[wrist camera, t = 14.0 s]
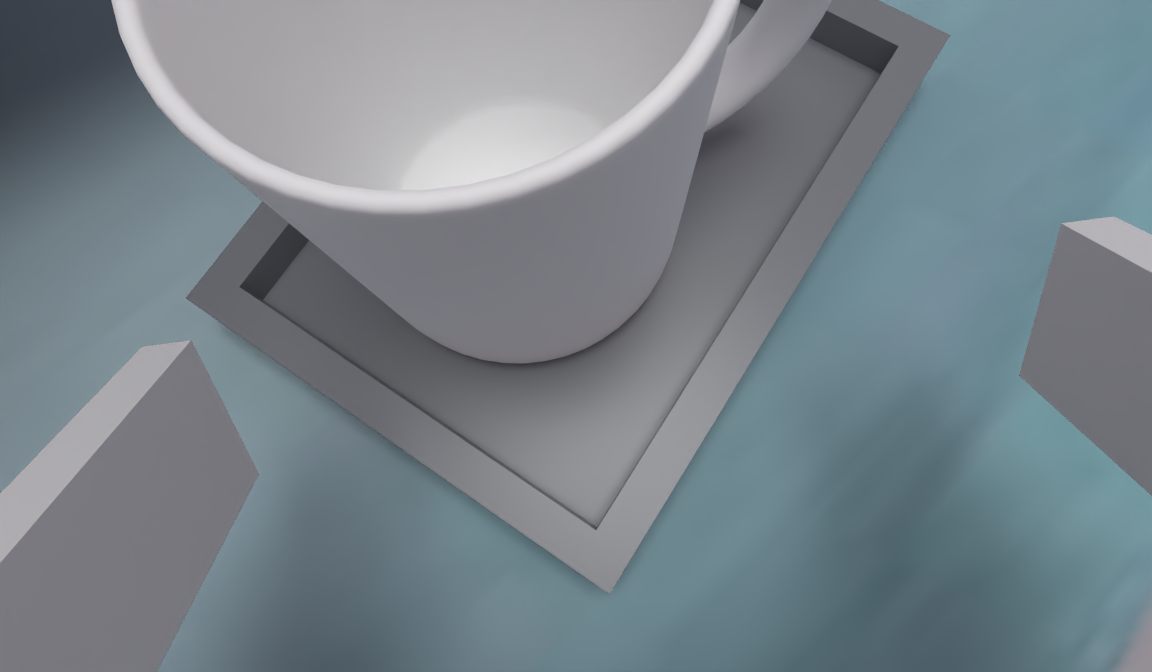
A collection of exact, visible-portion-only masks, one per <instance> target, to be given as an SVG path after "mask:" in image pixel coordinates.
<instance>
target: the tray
mask: <svg viewBox="0 0 1152 672" xmlns="http://www.w3.org/2000/svg"><path fill="white" fill-rule="evenodd" d="M763 1H764V0H740V4H739V7H738V11H737V15H736V18H735V22H734V25H733V29H732V33H731V36H730V40H729V44H730V43H731V42H732V41H733V40H734V39H735V38H736V37H737V36H738V35H739V34H740V33H741V32H742V30H743V29H744V28H745V27H746V25H747V24H748V23H749V21H750V20H751V19H752V18H753V16H754V15H755V13H756V12H757V10H758V9H759V7H760V6H761V4H762V2H763ZM949 36H950V35H948V34H946V33H944V32H942V31H940V30H938V29H936V28H934V27H932V26H930V25H928V24H926V23H924V22H922V21H920V20H918V19H916V18H913V17H911V16H909V15H907V14H905V13H903V12H901V11H899V10H897V9H895V8H893V7H891V6H889V5H887V4H885V3H883V2H881V1H879V0H832V1H831V3H830V5H829V7H828V8H827V10H826V12H825V14H824V16H823V18H822V19H821V21H820V22H819V24H818V25H817V27H816V28H815V30H814V31H813V33H812V35H811V36H810V37H809V39H808V40H807V41H806V43H805V44H804V45H803V47H802V48H801V49H800V51H799V52H798V53H797V55H796V56H795V57H794V58H793V59H792V60H791V61H790V63H789V64H788V65H787V66H786V67H785V68H784V69H783V70H782V72H781V73H780V74H779V75H778V76H777V77H776V78H775V79H774V80H773V81H772V82H771V83H770V84H769V85H768V86H767V87H766V88H765V89H763V90H762V91H761V92H760V93H759V94H758V95H756V96H755V97H754V98H753V99H752V100H751V101H750V102H748V103H747V104H746V105H744V106H743V107H742V108H741V109H739V110H738V111H737V112H735V113H734V114H733V115H731V116H730V117H728V118H727V119H725V120H724V121H722V122H721V123H719V124H718V125H716V126H715V127H713V128H711V129H710V130H708V131H706V132H705V133H704V135H703V139H702V142H701V146H700V150H699V153H698V157H697V161H696V164H695V168H694V172H693V175H692V179H691V183H690V186H689V190H688V193H687V197H686V201H685V204H684V208H683V212H682V215H681V219H680V223H679V226H678V230H677V234H676V237H675V241H674V244H673V248H672V251H671V254H670V256H669V259H668V261H667V263H666V266H665V268H664V270H663V272H662V275H661V277H660V279H659V280H658V282H657V283H656V285H655V287H654V288H653V290H652V292H651V293H650V295H649V296H648V298H647V299H646V300H645V301H644V303H643V304H642V305H641V306H640V307H639V309H638V310H637V311H636V312H635V313H634V314H633V315H632V316H631V317H630V318H629V319H628V320H627V321H626V322H625V323H624V324H622V325H621V326H620V327H619V328H618V329H616V330H615V331H614V332H612V333H611V334H609V335H608V336H607V337H605V338H604V339H602V340H601V341H599V342H597V343H595V344H593V345H591V346H590V347H588V348H586V349H584V350H581V351H579V352H576V353H573V354H571V355H568V356H565V357H561V358H557V359H553V360H549V361H544V362H535V363H526V364H521V363H500V362H493V361H486V360H481V359H477V358H474V357H470V356H467V355H463V354H461V353H458V352H456V351H454V350H452V349H449V348H447V347H445V346H443V345H441V344H439V343H437V342H436V341H434V340H432V339H431V338H429V337H427V336H426V335H424V334H422V333H421V332H419V331H418V330H417V329H415V328H414V327H413V326H412V325H411V324H409V323H408V322H407V321H406V320H404V319H403V318H402V317H401V316H400V315H398V314H397V313H396V312H395V311H394V310H392V309H391V308H390V307H389V306H388V305H386V304H385V303H384V302H383V301H382V300H380V299H379V298H378V297H377V296H376V295H374V294H373V293H372V292H371V291H370V290H368V289H367V288H366V287H365V286H364V285H362V284H361V283H360V282H359V281H358V280H356V279H355V278H354V277H353V276H352V275H350V274H349V273H348V272H347V271H346V270H344V269H343V268H342V267H341V266H340V265H338V264H337V263H336V262H335V261H334V260H333V259H331V258H330V257H329V256H328V255H327V254H325V253H324V252H323V251H322V250H321V249H319V248H318V247H317V246H316V245H315V244H313V243H312V242H311V241H310V240H309V239H307V238H306V237H305V236H304V235H303V234H301V233H300V232H299V231H298V230H297V229H295V228H294V227H293V226H292V225H291V224H289V223H288V222H287V221H286V220H285V219H283V218H282V217H281V216H280V215H279V214H277V213H276V212H275V211H274V210H273V209H271V208H270V207H269V206H268V205H267V204H265V203H264V202H262V203H261V204H260V206H259V207H258V208H257V209H256V211H255V212H254V213H253V214H252V216H251V217H250V218H249V219H248V221H247V222H246V223H245V224H244V226H243V227H242V228H241V229H240V231H239V232H238V233H237V235H236V236H235V237H234V238H233V240H232V241H231V242H230V243H229V245H228V246H227V247H226V248H225V250H224V251H223V252H222V253H221V255H220V256H219V257H218V258H217V260H216V261H215V262H214V263H213V265H212V266H211V267H210V268H209V270H208V271H207V272H206V273H205V275H204V276H203V277H202V278H201V280H200V281H199V282H198V284H197V285H196V286H195V287H194V289H193V290H192V291H191V292H190V294H189V295H188V296H187V297H186V299H188V300H189V301H191V302H192V303H193V304H195V305H196V306H198V307H199V308H201V309H202V310H203V311H205V312H206V313H208V314H209V315H211V316H212V317H213V318H215V319H216V320H218V321H219V322H221V323H222V324H223V325H225V326H226V327H228V328H229V329H231V330H232V331H233V332H235V333H236V334H238V335H239V336H241V337H242V338H244V339H245V340H246V341H248V342H249V343H251V344H252V345H254V346H255V347H256V348H258V349H259V350H261V351H262V352H264V353H265V354H266V355H268V356H269V357H271V358H272V359H274V360H275V361H276V362H278V363H279V364H281V365H282V366H284V367H285V368H286V369H288V370H289V371H291V372H292V373H294V374H295V375H296V376H298V377H299V378H301V379H302V380H304V381H305V382H306V383H308V384H309V385H311V386H312V387H314V388H315V389H317V390H318V391H319V392H321V393H322V394H324V395H325V396H327V397H328V398H329V399H331V400H332V401H334V402H335V403H337V404H338V405H339V406H341V407H342V408H344V409H345V410H347V411H348V412H349V413H351V414H352V415H354V416H355V417H357V418H358V419H359V420H361V421H362V422H364V423H365V424H367V425H368V426H369V427H371V428H372V429H374V430H375V431H377V432H378V433H379V434H381V435H382V436H384V437H385V438H387V439H388V440H390V441H391V442H392V443H394V444H395V445H397V446H398V447H400V448H401V449H402V450H404V451H405V452H407V453H408V454H410V455H411V456H412V457H414V458H415V459H417V460H418V461H420V462H421V463H422V464H424V465H425V466H427V467H428V468H430V469H431V470H432V471H434V472H435V473H437V474H438V475H440V476H441V477H442V478H444V479H445V480H447V481H448V482H450V483H451V484H452V485H454V486H455V487H457V488H458V489H460V490H461V491H463V492H464V493H465V494H467V495H468V496H470V497H471V498H473V499H474V500H475V501H477V502H478V503H480V504H481V505H483V506H484V507H485V508H487V509H488V510H490V511H491V512H493V513H494V514H495V515H497V516H498V517H500V518H501V519H503V520H504V521H505V522H507V523H508V524H510V525H511V526H513V527H514V528H515V529H517V530H518V531H520V532H521V533H523V534H524V535H525V536H527V537H528V538H530V539H531V540H533V541H534V542H536V543H537V544H538V545H540V546H541V547H543V548H544V549H546V550H547V551H548V552H550V553H551V554H553V555H554V556H556V557H557V558H558V559H560V560H561V561H563V562H564V563H566V564H567V565H568V566H570V567H571V568H573V569H574V570H576V571H577V572H578V573H580V574H581V575H583V576H584V577H586V578H587V579H588V580H590V581H591V582H593V583H594V584H596V585H597V586H598V587H600V588H601V589H603V590H604V591H606V592H607V593H609V594H610V592H611V590H612V589H613V587H614V586H615V584H616V582H617V581H618V579H619V577H620V576H621V574H622V572H623V571H624V569H625V567H626V566H627V564H628V563H629V561H630V559H631V558H632V556H633V554H634V553H635V551H636V549H637V548H638V546H639V545H640V543H641V541H642V540H643V538H644V536H645V535H646V533H647V531H648V530H649V528H650V527H651V525H652V523H653V522H654V520H655V518H656V517H657V515H658V513H659V512H660V510H661V508H662V507H663V505H664V504H665V502H666V500H667V499H668V497H669V495H670V494H671V492H672V490H673V489H674V487H675V486H676V484H677V482H678V481H679V479H680V477H681V476H682V474H683V472H684V471H685V469H686V467H687V466H688V464H689V463H690V461H691V459H692V458H693V456H694V454H695V453H696V451H697V449H698V448H699V446H700V445H701V443H702V441H703V440H704V438H705V436H706V435H707V433H708V431H709V430H710V428H711V427H712V425H713V423H714V422H715V420H716V418H717V417H718V415H719V413H720V412H721V410H722V408H723V407H724V405H725V404H726V402H727V400H728V399H729V397H730V395H731V394H732V392H733V390H734V389H735V387H736V386H737V384H738V382H739V381H740V379H741V377H742V376H743V374H744V372H745V371H746V369H747V367H748V366H749V364H750V363H751V361H752V359H753V358H754V356H755V354H756V353H757V351H758V349H759V348H760V346H761V345H762V343H763V341H764V340H765V338H766V336H767V335H768V333H769V331H770V330H771V328H772V327H773V325H774V323H775V322H776V320H777V318H778V317H779V315H780V313H781V312H782V310H783V308H784V307H785V305H786V304H787V302H788V300H789V299H790V297H791V295H792V294H793V292H794V290H795V289H796V287H797V286H798V284H799V282H800V281H801V279H802V277H803V276H804V274H805V272H806V271H807V269H808V268H809V266H810V264H811V263H812V261H813V259H814V258H815V256H816V254H817V253H818V251H819V249H820V248H821V246H822V245H823V243H824V241H825V240H826V238H827V236H828V235H829V233H830V231H831V230H832V228H833V227H834V225H835V223H836V222H837V220H838V218H839V217H840V215H841V213H842V212H843V210H844V208H845V207H846V205H847V204H848V202H849V200H850V199H851V197H852V195H853V194H854V192H855V190H856V189H857V187H858V186H859V184H860V182H861V181H862V179H863V177H864V176H865V174H866V172H867V171H868V169H869V168H870V166H871V164H872V163H873V161H874V159H875V158H876V156H877V154H878V153H879V151H880V149H881V148H882V146H883V145H884V143H885V141H886V140H887V138H888V136H889V135H890V133H891V131H892V130H893V128H894V127H895V125H896V123H897V122H898V120H899V118H900V117H901V115H902V113H903V112H904V110H905V109H906V107H907V105H908V104H909V102H910V100H911V99H912V97H913V95H914V94H915V92H916V90H917V89H918V87H919V86H920V84H921V82H922V81H923V79H924V77H925V76H926V74H927V72H928V71H929V69H930V68H931V66H932V64H933V63H934V61H935V59H936V58H937V56H938V54H939V53H940V51H941V49H942V48H943V46H944V45H945V43H946V41H947V40H948V38H949ZM729 44H728V45H729Z"/></svg>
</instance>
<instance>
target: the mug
mask: <svg viewBox="0 0 1152 672" xmlns="http://www.w3.org/2000/svg"><path fill="white" fill-rule="evenodd" d="M111 1H112V5H113V9H114V13H115V17H116V21H117V25H118V29H119V33H120V36H121V39H122V41H123V43H124V46H125V48H126V50H127V52H128V55H129V57H130V59H131V62H132V64H133V66H134V69H135V71H136V73H137V75H138V77H139V78H140V80H141V81H142V83H143V84H144V86H145V88H146V89H147V91H148V92H149V94H150V95H151V97H152V98H153V100H154V102H155V103H156V105H157V106H158V107H159V108H160V110H161V111H162V112H163V113H164V114H165V115H166V116H167V117H168V118H169V120H170V121H171V122H172V123H173V124H174V125H175V126H176V127H177V129H178V130H179V131H180V132H181V133H182V134H183V135H184V136H185V137H186V138H188V139H189V140H190V141H191V142H192V143H194V144H195V145H196V146H197V147H198V148H200V149H201V150H202V151H203V152H204V153H206V154H207V155H208V156H209V157H210V158H212V159H213V160H214V161H215V162H216V163H218V164H219V165H220V166H221V167H222V168H224V169H225V170H226V171H227V172H228V173H229V174H231V175H232V176H233V177H234V178H235V179H237V180H238V181H239V182H240V183H241V184H243V185H244V186H245V187H246V188H247V189H249V190H250V191H251V192H252V193H253V194H255V195H256V196H257V197H258V198H259V199H261V200H262V201H263V202H264V203H265V204H267V205H268V206H269V207H270V208H271V209H273V210H274V211H275V212H276V213H277V214H279V215H280V216H281V217H282V218H283V219H285V220H286V221H287V222H288V223H289V224H291V225H292V226H293V227H294V228H295V229H297V230H298V231H299V232H300V233H301V234H303V235H304V236H305V237H306V238H307V239H309V240H310V241H311V242H312V243H313V244H315V245H316V246H317V247H318V248H319V249H321V250H322V251H323V252H324V253H325V254H327V255H328V256H329V257H330V258H331V259H333V260H334V261H335V262H336V263H337V264H338V265H340V266H341V267H342V268H343V269H344V270H346V271H347V272H348V273H349V274H350V275H352V276H353V277H354V278H355V279H356V280H358V281H359V282H360V283H361V284H362V285H364V286H365V287H366V288H367V289H368V290H370V291H371V292H372V293H373V294H374V295H376V296H377V297H378V298H379V299H380V300H382V301H383V302H384V303H385V304H386V305H388V306H389V307H390V308H391V309H392V310H394V311H395V312H396V313H397V314H398V315H400V316H401V317H402V318H403V319H404V320H406V321H407V322H408V323H409V324H411V325H412V326H413V327H414V328H415V329H417V330H418V331H419V332H421V333H422V334H424V335H426V336H427V337H429V338H431V339H432V340H434V341H436V342H437V343H439V344H441V345H443V346H445V347H447V348H449V349H452V350H454V351H456V352H458V353H461V354H463V355H467V356H470V357H474V358H477V359H481V360H486V361H493V362H500V363H521V364H526V363H535V362H544V361H549V360H553V359H557V358H561V357H565V356H568V355H571V354H573V353H576V352H579V351H581V350H584V349H586V348H588V347H590V346H591V345H593V344H595V343H597V342H599V341H601V340H602V339H604V338H605V337H607V336H608V335H609V334H611V333H612V332H614V331H615V330H616V329H618V328H619V327H620V326H621V325H622V324H624V323H625V322H626V321H627V320H628V319H629V318H630V317H631V316H632V315H633V314H634V313H635V312H636V311H637V310H638V309H639V307H640V306H641V305H642V304H643V303H644V301H645V300H646V299H647V298H648V296H649V295H650V293H651V292H652V290H653V288H654V287H655V285H656V283H657V282H658V280H659V279H660V277H661V275H662V272H663V270H664V268H665V266H666V263H667V261H668V259H669V256H670V254H671V251H672V248H673V244H674V241H675V237H676V234H677V230H678V226H679V223H680V219H681V215H682V212H683V208H684V204H685V201H686V197H687V193H688V190H689V186H690V183H691V179H692V175H693V172H694V168H695V164H696V161H697V157H698V153H699V150H700V146H701V142H702V139H703V135H704V133H705V132H706V131H708V130H710V129H711V128H713V127H715V126H716V125H718V124H719V123H721V122H722V121H724V120H725V119H727V118H728V117H730V116H731V115H733V114H734V113H735V112H737V111H738V110H739V109H741V108H742V107H743V106H744V105H746V104H747V103H748V102H750V101H751V100H752V99H753V98H754V97H755V96H756V95H758V94H759V93H760V92H761V91H762V90H763V89H765V88H766V87H767V86H768V85H769V84H770V83H771V82H772V81H773V80H774V79H775V78H776V77H777V76H778V75H779V74H780V73H781V72H782V70H783V69H784V68H785V67H786V66H787V65H788V64H789V63H790V61H791V60H792V59H793V58H794V57H795V56H796V55H797V53H798V52H799V51H800V49H801V48H802V47H803V45H804V44H805V43H806V41H807V40H808V39H809V37H810V36H811V35H812V33H813V31H814V30H815V28H816V27H817V25H818V24H819V22H820V21H821V19H822V18H823V16H824V14H825V12H826V10H827V8H828V7H829V5H830V3H831V1H832V0H764V1H763V2H762V4H761V6H760V7H759V9H758V10H757V12H756V13H755V15H754V16H753V18H752V19H751V20H750V21H749V23H748V24H747V25H746V27H745V28H744V29H743V30H742V32H741V33H740V34H739V35H738V36H737V37H736V38H735V39H734V40H733V41H732V42H731V43H730V44H729V40H730V36H731V33H732V29H733V25H734V22H735V18H736V15H737V11H738V7H739V4H740V0H111ZM728 44H729V45H728Z"/></svg>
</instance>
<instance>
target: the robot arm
mask: <svg viewBox="0 0 1152 672" xmlns="http://www.w3.org/2000/svg"><path fill="white" fill-rule="evenodd" d="M1019 376H1020V377H1021V378H1022V379H1023V380H1025V381H1026V382H1027V383H1028V384H1029V385H1030V386H1031V387H1032V388H1033V389H1034V390H1036V391H1037V392H1038V393H1039V394H1040V395H1041V396H1042V397H1043V398H1044V399H1045V400H1047V401H1048V402H1049V403H1050V404H1051V405H1052V406H1053V407H1054V408H1055V409H1056V410H1058V411H1059V412H1060V413H1061V414H1062V415H1063V416H1064V417H1065V418H1066V419H1068V420H1069V421H1070V422H1071V423H1072V424H1073V425H1074V426H1075V427H1076V428H1077V429H1079V430H1080V431H1081V432H1082V433H1083V434H1084V435H1085V436H1086V437H1087V438H1088V439H1090V440H1091V441H1092V442H1093V443H1094V444H1095V445H1096V446H1097V447H1098V448H1099V449H1101V450H1102V451H1103V452H1104V453H1105V454H1106V455H1107V456H1108V457H1109V458H1110V459H1112V460H1113V461H1114V462H1115V463H1116V464H1117V465H1118V466H1119V467H1120V468H1122V469H1123V470H1124V471H1125V472H1126V473H1127V474H1128V475H1129V476H1130V477H1131V478H1133V479H1134V480H1135V481H1136V482H1137V483H1138V484H1139V485H1140V486H1141V487H1142V488H1144V489H1145V490H1146V491H1147V492H1148V493H1149V494H1150V495H1151V496H1152V235H1151V234H1149V233H1147V232H1145V231H1143V230H1140V229H1138V228H1136V227H1134V226H1132V225H1130V224H1128V223H1126V222H1124V221H1122V220H1120V219H1118V218H1116V217H1107V218H1099V219H1092V220H1084V221H1077V222H1069V223H1062V224H1061V227H1060V231H1059V234H1058V238H1057V241H1056V245H1055V249H1054V252H1053V256H1052V259H1051V263H1050V267H1049V270H1048V274H1047V277H1046V281H1045V284H1044V288H1043V292H1042V295H1041V299H1040V302H1039V306H1038V310H1037V313H1036V317H1035V320H1034V324H1033V328H1032V331H1031V335H1030V338H1029V342H1028V345H1027V349H1026V353H1025V356H1024V360H1023V363H1022V367H1021V371H1020V374H1019ZM258 475H259V473H258V471H257V469H256V467H255V465H254V463H253V461H252V460H251V458H250V456H249V454H248V452H247V450H246V448H245V446H244V444H243V442H242V440H241V438H240V436H239V434H238V432H237V430H236V428H235V426H234V424H233V422H232V420H231V418H230V416H229V414H228V412H227V410H226V408H225V406H224V404H223V402H222V400H221V398H220V396H219V394H218V392H217V390H216V388H215V386H214V384H213V382H212V380H211V378H210V376H209V374H208V372H207V371H206V369H205V367H204V365H203V363H202V361H201V359H200V357H199V355H198V353H197V351H196V349H195V347H194V345H193V343H192V341H191V340H189V341H181V342H174V343H166V344H159V345H152V346H144V347H141V348H140V349H139V350H138V351H137V352H136V353H135V354H134V355H133V356H132V357H131V359H130V360H129V361H128V362H127V363H126V364H125V365H124V366H123V367H122V368H121V369H120V370H119V371H118V372H117V373H116V374H115V375H114V376H113V377H112V378H111V379H110V380H109V381H108V382H107V383H106V384H105V385H104V387H103V388H102V389H101V390H100V391H99V392H98V393H97V394H96V395H95V396H94V397H93V398H92V399H91V400H90V401H89V402H88V403H87V404H86V405H85V406H84V407H83V408H82V409H81V410H80V411H79V412H78V413H77V415H76V416H75V417H74V418H73V419H72V420H71V421H70V422H69V423H68V424H67V425H66V426H65V427H64V428H63V429H62V430H61V431H60V432H59V433H58V434H57V435H56V436H55V437H54V438H53V439H52V440H51V441H50V443H49V444H48V445H47V446H46V447H45V448H44V449H43V450H42V451H41V452H40V453H39V454H38V455H37V456H36V457H35V458H34V459H33V460H32V461H31V462H30V463H29V464H28V465H27V466H26V467H25V468H24V469H23V471H22V472H21V473H20V474H19V475H18V476H17V477H16V478H15V479H14V480H13V481H12V482H11V483H10V484H9V485H8V486H7V487H6V488H5V489H4V490H3V491H2V492H1V493H0V672H157V670H158V668H159V666H160V664H161V663H162V661H163V659H164V657H165V655H166V653H167V651H168V649H169V647H170V645H171V643H172V641H173V639H174V637H175V635H176V634H177V632H178V630H179V628H180V626H181V624H182V622H183V620H184V618H185V616H186V614H187V612H188V610H189V608H190V606H191V604H192V603H193V601H194V599H195V597H196V595H197V593H198V591H199V589H200V587H201V585H202V583H203V581H204V579H205V577H206V575H207V574H208V572H209V570H210V568H211V566H212V564H213V562H214V560H215V558H216V556H217V554H218V552H219V550H220V548H221V546H222V545H223V543H224V541H225V539H226V537H227V535H228V533H229V531H230V529H231V527H232V525H233V523H234V521H235V519H236V517H237V516H238V514H239V512H240V510H241V508H242V506H243V504H244V502H245V500H246V498H247V496H248V494H249V492H250V490H251V488H252V487H253V485H254V483H255V481H256V479H257V477H258Z"/></svg>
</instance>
